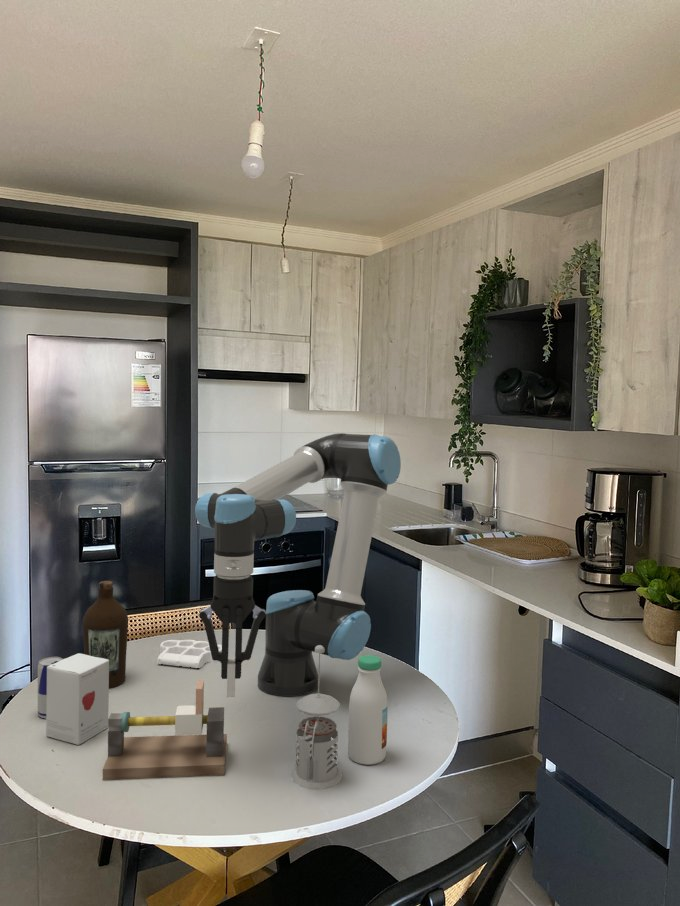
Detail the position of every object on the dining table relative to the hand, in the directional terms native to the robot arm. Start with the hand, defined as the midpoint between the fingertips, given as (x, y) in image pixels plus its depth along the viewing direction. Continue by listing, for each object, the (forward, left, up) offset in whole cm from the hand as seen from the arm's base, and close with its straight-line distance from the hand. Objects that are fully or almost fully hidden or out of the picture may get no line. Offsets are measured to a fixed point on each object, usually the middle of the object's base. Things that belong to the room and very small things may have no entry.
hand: (230, 694), depth 133 cm
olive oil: (+32, -39, -13) cm, 52 cm away
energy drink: (+40, -22, -13) cm, 48 cm away
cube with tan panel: (+8, 0, -7) cm, 11 cm away
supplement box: (+32, -13, -13) cm, 37 cm away
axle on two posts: (+12, 0, -13) cm, 18 cm away
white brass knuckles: (+13, -54, -14) cm, 57 cm away
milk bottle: (-27, +1, -13) cm, 30 cm away
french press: (-16, +8, -13) cm, 22 cm away
